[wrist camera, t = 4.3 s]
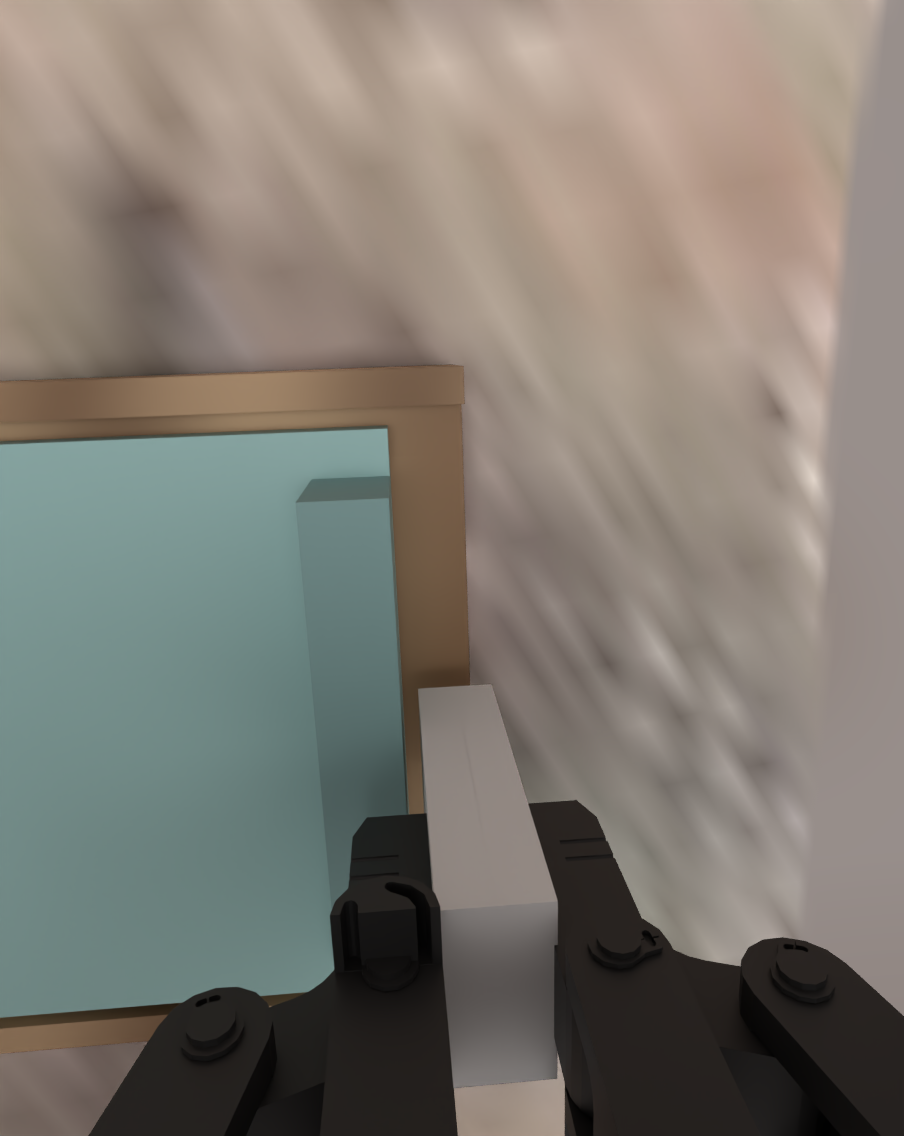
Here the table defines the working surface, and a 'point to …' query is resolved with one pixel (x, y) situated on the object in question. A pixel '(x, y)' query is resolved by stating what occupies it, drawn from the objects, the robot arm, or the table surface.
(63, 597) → the cover
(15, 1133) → the table surface
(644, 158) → the table surface
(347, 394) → the board
